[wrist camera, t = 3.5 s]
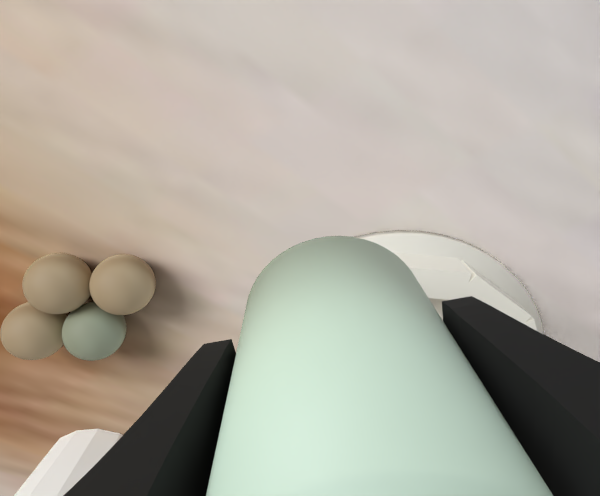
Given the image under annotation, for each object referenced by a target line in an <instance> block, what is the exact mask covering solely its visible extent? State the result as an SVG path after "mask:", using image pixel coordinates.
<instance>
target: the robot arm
mask: <svg viewBox="0 0 600 496" xmlns="http://www.w3.org/2000/svg"><path fill="white" fill-rule="evenodd" d="M442 312H443V322H444V323H445V325H446V327H447V328H448V330H449V331H450V333H451V335H452V336H453V338H454V339H455V341H456V342H457V344H458V346H459V347H460V349H461V350H462V352H463V354H464V355H465V357H466V358H467V360H468V361H469V363H470V365H471V366H472V368H473V369H474V371H475V373H476V374H477V376H478V377H479V379H480V380H481V382H482V384H483V385H484V387H485V388H486V390H487V392H488V393H489V395H490V396H491V398H492V399H493V401H494V403H495V404H496V406H497V407H498V409H499V411H500V412H501V414H502V415H503V417H504V418H505V420H506V422H507V423H508V425H509V426H510V428H511V430H512V431H513V433H514V434H515V436H516V437H517V439H518V441H519V442H520V444H521V445H522V447H523V449H524V450H525V452H526V453H527V455H528V457H529V458H530V460H531V461H532V463H533V464H534V466H535V468H536V469H537V471H538V472H539V474H540V476H541V477H542V479H543V480H544V482H545V483H546V485H547V487H548V488H549V490H550V491H551V493H552V495H553V496H600V362H597V361H595V360H593V359H591V358H589V357H587V356H585V355H583V354H581V353H579V352H577V351H575V350H573V349H571V348H569V347H567V346H565V345H563V344H561V343H559V342H557V341H555V340H553V339H551V338H549V337H547V336H546V335H544V334H542V333H540V332H538V331H536V330H534V329H532V328H530V327H529V326H527V325H525V324H523V323H521V322H519V321H518V320H516V319H514V318H512V317H510V316H508V315H507V314H505V313H503V312H501V311H499V310H497V309H496V308H494V307H492V306H490V305H488V304H486V303H484V302H482V301H481V300H479V299H477V298H474V297H472V296H469V297H464V298H458V299H452V300H447V301H442ZM235 357H236V352H235V349H234V346H233V343H232V340H231V339H230V340H224V341H219V342H213V343H207V344H204V345H203V346H202V347H201V348H200V349H199V350H198V351H197V352H196V353H195V354H194V355H193V357H192V358H191V359H190V360H189V361H188V362H187V364H186V365H185V366H184V367H183V368H182V369H181V371H180V372H179V373H178V374H177V375H176V376H175V378H174V379H173V380H172V381H171V382H170V384H169V385H168V386H167V387H166V388H165V389H164V390H163V392H162V393H161V394H160V395H159V396H158V397H157V398H156V400H155V401H154V402H153V403H152V404H151V405H150V407H149V408H148V409H147V410H146V411H145V412H144V413H143V415H142V416H141V417H140V418H139V419H138V420H137V421H136V422H135V423H134V424H133V425H132V426H131V427H130V428H129V430H128V431H127V432H126V433H125V434H124V435H123V436H122V437H121V438H120V439H119V440H118V441H117V442H116V443H115V444H114V445H113V447H112V448H111V449H110V450H109V451H108V452H107V453H106V454H105V455H104V456H103V457H102V458H101V459H100V460H99V461H98V462H97V463H96V464H95V465H94V466H93V467H92V468H91V469H90V470H89V471H88V472H87V473H86V474H85V475H84V476H83V477H82V478H81V479H80V480H79V481H78V482H77V483H76V484H75V485H74V486H73V487H72V488H71V489H70V490H69V491H68V492H67V493H66V494H65V495H63V496H206V493H207V488H208V483H209V479H210V474H211V469H212V465H213V460H214V455H215V450H216V446H217V441H218V436H219V432H220V427H221V422H222V418H223V413H224V408H225V404H226V399H227V394H228V390H229V385H230V380H231V376H232V371H233V366H234V361H235Z"/></svg>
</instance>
